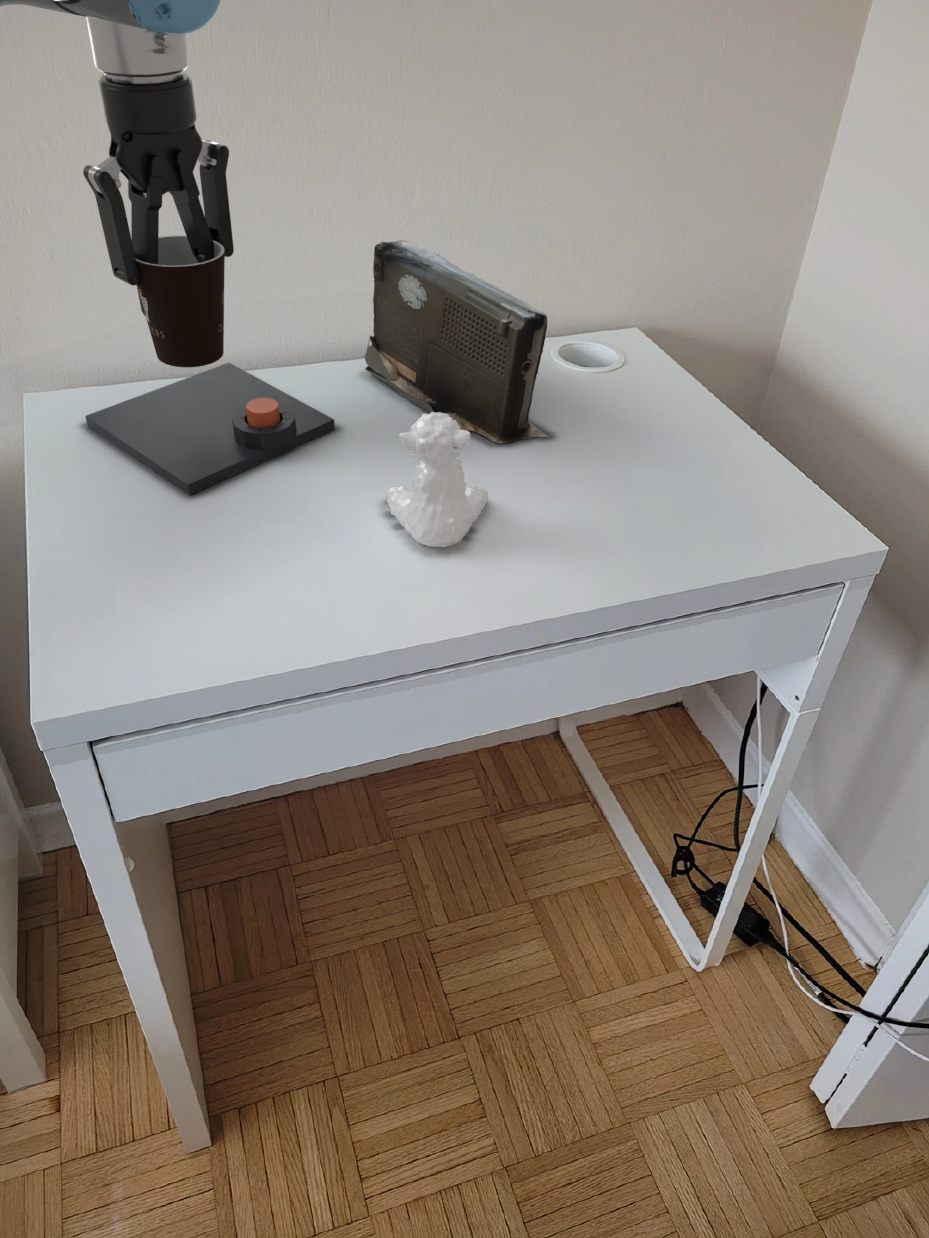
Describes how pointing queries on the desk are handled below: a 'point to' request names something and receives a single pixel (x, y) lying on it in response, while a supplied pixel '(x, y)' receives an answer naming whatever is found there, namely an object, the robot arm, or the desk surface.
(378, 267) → the radio
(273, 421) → the button
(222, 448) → the scale
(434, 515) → the sitting furry creature
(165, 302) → the coffee mug
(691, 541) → the desk surface
